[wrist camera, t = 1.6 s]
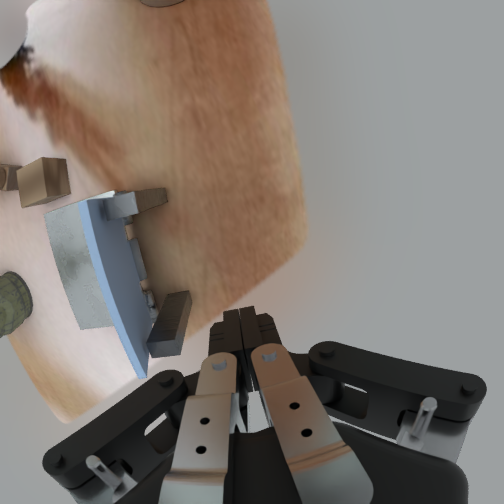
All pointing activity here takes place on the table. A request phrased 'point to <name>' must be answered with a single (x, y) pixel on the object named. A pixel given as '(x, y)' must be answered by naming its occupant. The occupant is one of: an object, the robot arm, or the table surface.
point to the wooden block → (8, 177)
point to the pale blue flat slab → (119, 279)
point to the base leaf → (85, 280)
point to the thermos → (13, 302)
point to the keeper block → (43, 181)
